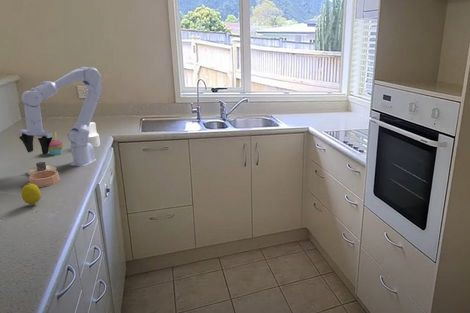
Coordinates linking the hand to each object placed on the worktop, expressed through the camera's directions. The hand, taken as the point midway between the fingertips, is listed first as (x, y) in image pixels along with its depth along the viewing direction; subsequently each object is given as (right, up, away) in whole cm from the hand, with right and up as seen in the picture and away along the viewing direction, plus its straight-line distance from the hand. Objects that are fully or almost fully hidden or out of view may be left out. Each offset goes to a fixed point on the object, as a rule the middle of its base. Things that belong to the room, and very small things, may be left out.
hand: (37, 152), depth 141 cm
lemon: (+14, -18, -26) cm, 34 cm away
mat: (0, -9, +3) cm, 9 cm away
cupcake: (-8, -1, +28) cm, 29 cm away
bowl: (+7, -12, -7) cm, 16 cm away
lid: (0, -8, +3) cm, 9 cm away
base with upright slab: (+5, +4, +42) cm, 42 cm away
